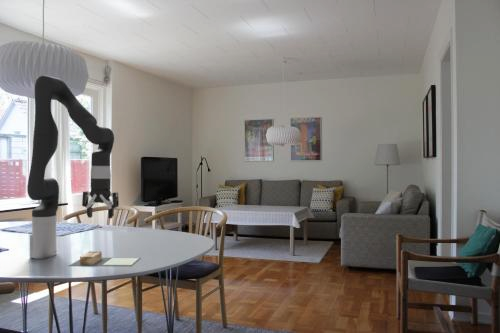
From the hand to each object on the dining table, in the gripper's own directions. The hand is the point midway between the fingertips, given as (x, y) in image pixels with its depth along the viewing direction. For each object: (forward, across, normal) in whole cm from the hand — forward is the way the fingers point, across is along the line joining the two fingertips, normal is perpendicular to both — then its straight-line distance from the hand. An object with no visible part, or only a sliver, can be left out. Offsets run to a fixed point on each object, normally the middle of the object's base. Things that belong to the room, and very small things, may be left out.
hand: (100, 217), depth 166 cm
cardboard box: (+17, -2, -3) cm, 17 cm away
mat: (+18, +4, -2) cm, 18 cm away
